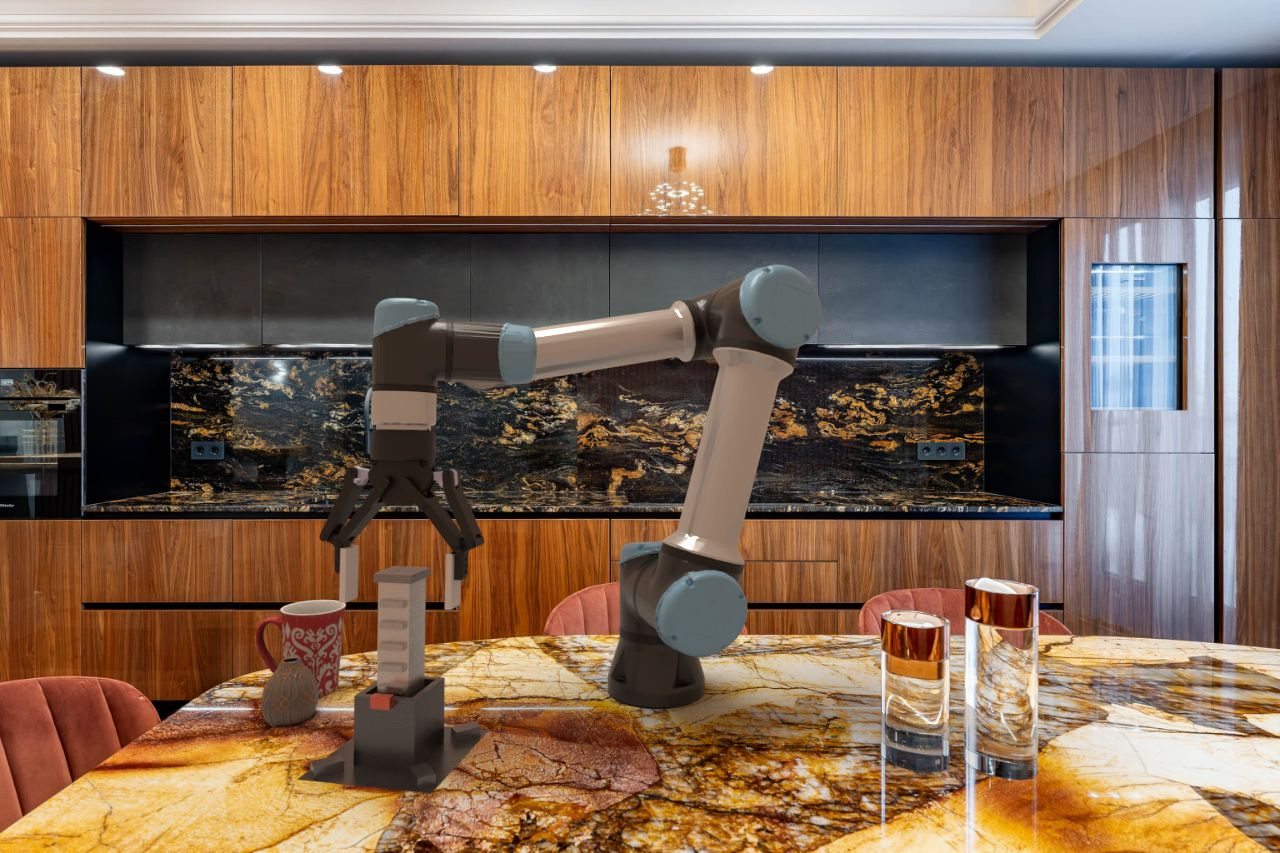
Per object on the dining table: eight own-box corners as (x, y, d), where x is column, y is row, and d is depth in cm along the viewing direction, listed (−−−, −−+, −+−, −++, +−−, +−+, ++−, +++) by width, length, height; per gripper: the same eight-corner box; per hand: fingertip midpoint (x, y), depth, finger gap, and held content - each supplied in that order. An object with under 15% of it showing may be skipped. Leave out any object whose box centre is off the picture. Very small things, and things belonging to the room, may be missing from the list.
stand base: (488, 737, 90) (489, 664, 90) (431, 802, 74) (432, 713, 74) (375, 727, 93) (376, 657, 93) (297, 788, 77) (298, 702, 77)
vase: (248, 730, 92) (249, 664, 92) (291, 710, 98) (292, 649, 98) (288, 738, 89) (289, 670, 89) (329, 718, 96) (330, 654, 96)
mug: (354, 685, 108) (355, 599, 108) (329, 708, 99) (330, 614, 99) (273, 685, 108) (274, 598, 108) (240, 708, 99) (241, 613, 99)
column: (428, 745, 85) (430, 567, 86) (408, 764, 81) (410, 575, 81) (392, 742, 86) (394, 566, 86) (370, 761, 81) (372, 573, 82)
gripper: (512, 430, 85) (509, 602, 85) (329, 426, 90) (325, 590, 89) (489, 429, 78) (485, 618, 78) (290, 426, 82) (286, 604, 82)
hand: (399, 603), depth 84 cm, fingers open, 13 cm apart
